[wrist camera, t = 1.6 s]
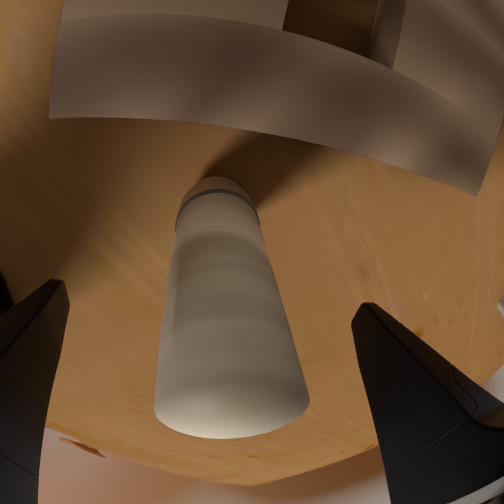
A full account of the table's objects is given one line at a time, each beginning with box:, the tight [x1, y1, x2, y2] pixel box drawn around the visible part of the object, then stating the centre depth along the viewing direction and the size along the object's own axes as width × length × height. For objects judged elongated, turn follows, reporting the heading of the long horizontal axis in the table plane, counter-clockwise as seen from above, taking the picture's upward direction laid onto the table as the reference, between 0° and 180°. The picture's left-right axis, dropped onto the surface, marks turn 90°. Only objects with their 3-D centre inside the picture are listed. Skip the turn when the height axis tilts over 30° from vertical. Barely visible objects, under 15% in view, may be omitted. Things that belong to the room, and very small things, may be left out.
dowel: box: [154, 176, 310, 439], centre depth 9 cm, size 3×3×10 cm
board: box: [49, 0, 504, 197], centre depth 8 cm, size 12×20×2 cm, turn 79°
